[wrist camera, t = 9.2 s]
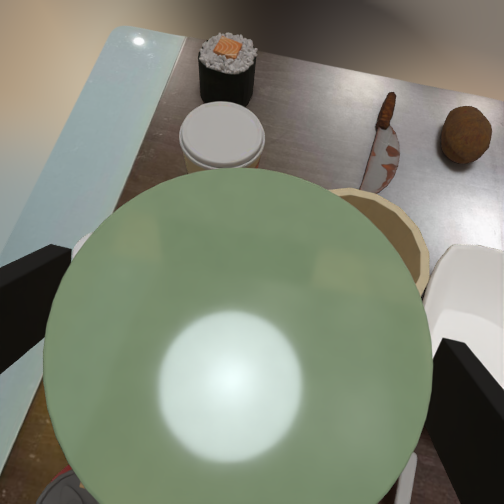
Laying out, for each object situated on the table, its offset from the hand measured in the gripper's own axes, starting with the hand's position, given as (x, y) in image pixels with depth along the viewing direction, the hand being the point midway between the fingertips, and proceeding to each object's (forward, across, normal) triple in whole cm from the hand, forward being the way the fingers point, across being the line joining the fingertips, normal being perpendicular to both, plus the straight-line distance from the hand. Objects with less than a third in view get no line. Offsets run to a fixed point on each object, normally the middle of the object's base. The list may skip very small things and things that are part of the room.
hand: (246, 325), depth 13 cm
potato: (+51, +26, +9) cm, 58 cm away
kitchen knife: (+48, +15, +7) cm, 51 cm away
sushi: (+51, -11, +10) cm, 53 cm away
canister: (+2, 0, -5) cm, 5 cm away
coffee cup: (+38, -7, -4) cm, 39 cm away
